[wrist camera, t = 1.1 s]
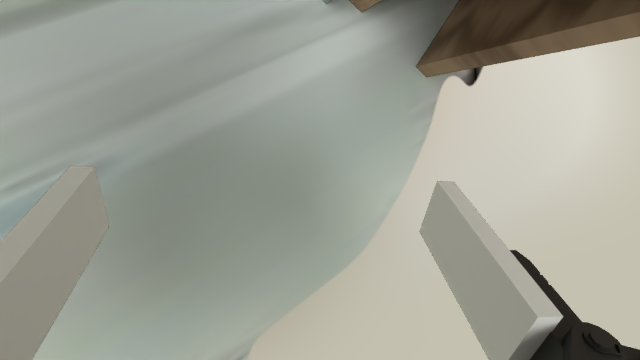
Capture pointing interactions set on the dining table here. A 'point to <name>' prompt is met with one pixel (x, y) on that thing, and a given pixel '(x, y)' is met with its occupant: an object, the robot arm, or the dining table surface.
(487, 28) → the walnut stand
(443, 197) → the robot arm
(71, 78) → the dining table surface
